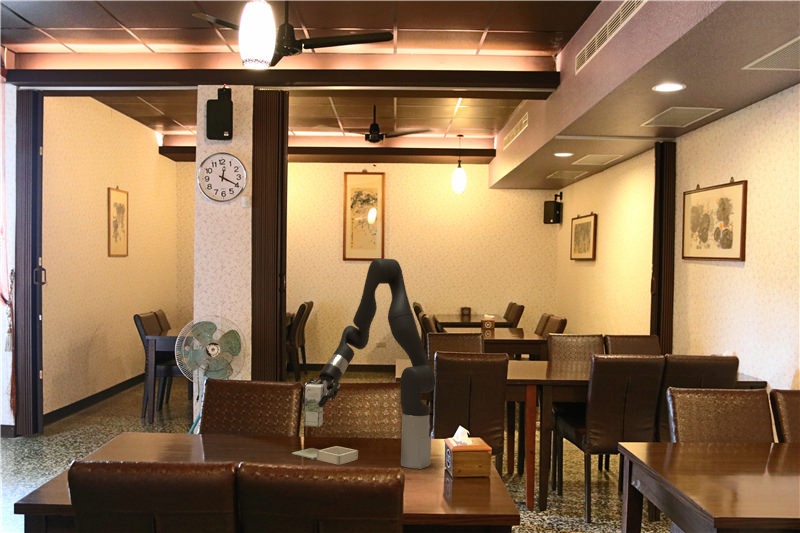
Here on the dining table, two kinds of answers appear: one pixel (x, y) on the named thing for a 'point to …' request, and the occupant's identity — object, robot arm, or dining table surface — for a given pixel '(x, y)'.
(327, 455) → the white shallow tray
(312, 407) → the syrup box
